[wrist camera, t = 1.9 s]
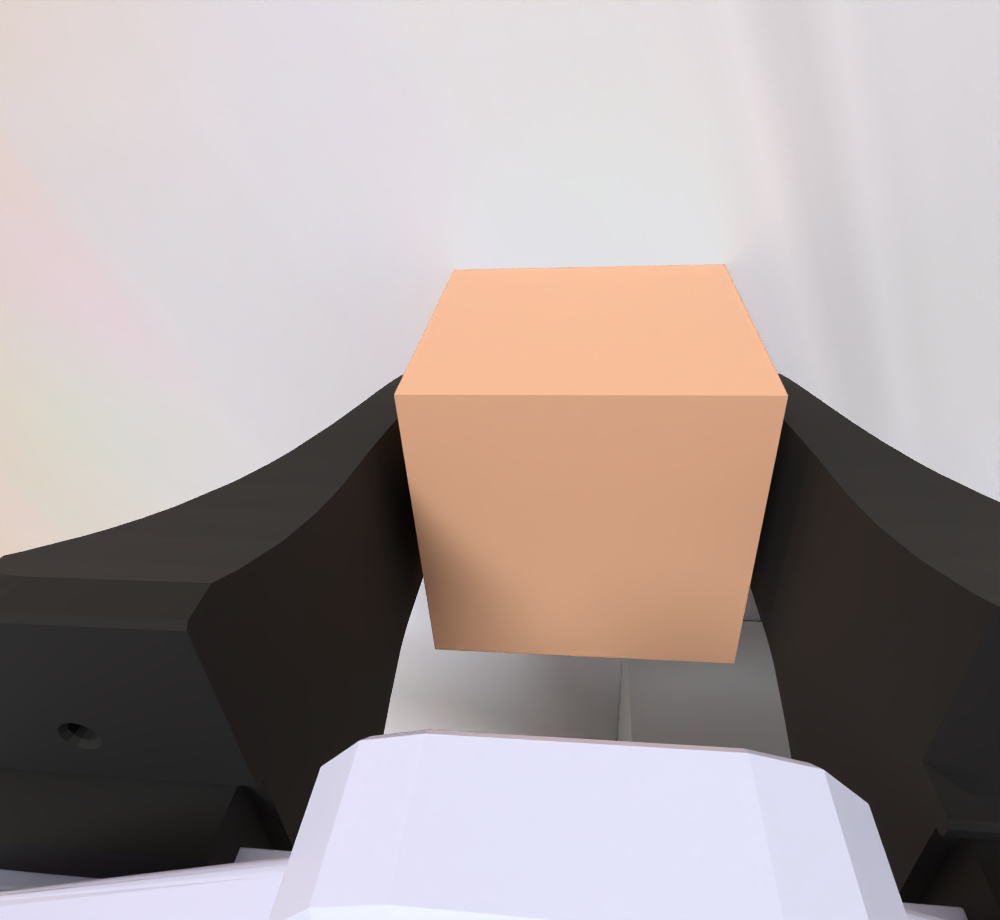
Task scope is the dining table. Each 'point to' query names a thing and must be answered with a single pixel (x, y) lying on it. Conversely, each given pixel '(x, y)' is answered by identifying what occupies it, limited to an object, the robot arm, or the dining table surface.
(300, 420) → the dining table surface
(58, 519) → the dining table surface
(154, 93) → the dining table surface
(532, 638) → the peach block
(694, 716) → the base block
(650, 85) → the dining table surface
